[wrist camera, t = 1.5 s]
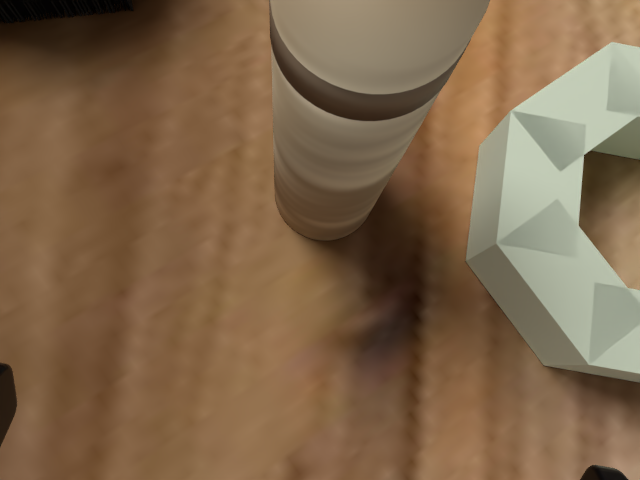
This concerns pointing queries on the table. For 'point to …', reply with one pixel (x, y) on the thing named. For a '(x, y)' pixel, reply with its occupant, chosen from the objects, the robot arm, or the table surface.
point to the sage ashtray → (559, 218)
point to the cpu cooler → (55, 8)
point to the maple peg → (354, 98)
